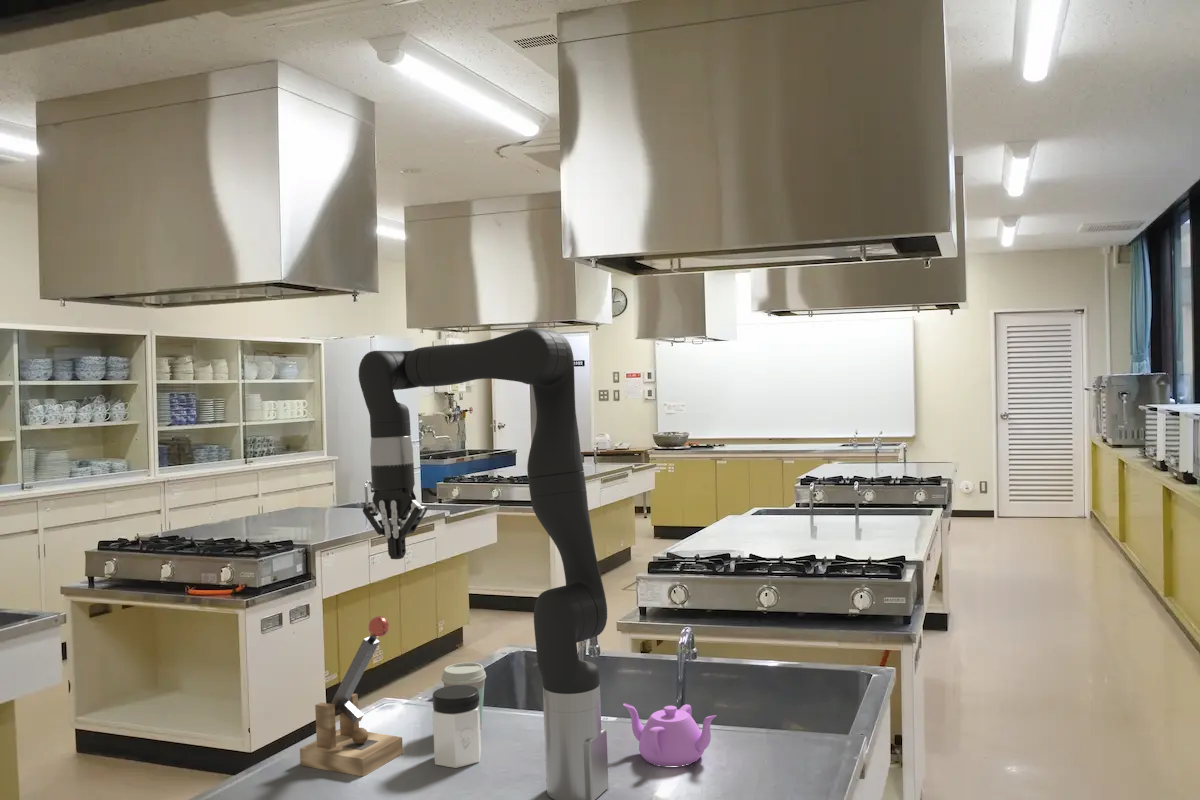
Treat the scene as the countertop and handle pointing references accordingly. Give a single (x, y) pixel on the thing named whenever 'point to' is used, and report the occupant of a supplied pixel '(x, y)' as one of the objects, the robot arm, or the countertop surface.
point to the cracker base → (347, 744)
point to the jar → (456, 726)
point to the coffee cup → (466, 678)
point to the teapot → (671, 736)
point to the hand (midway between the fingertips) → (397, 558)
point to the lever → (358, 670)
